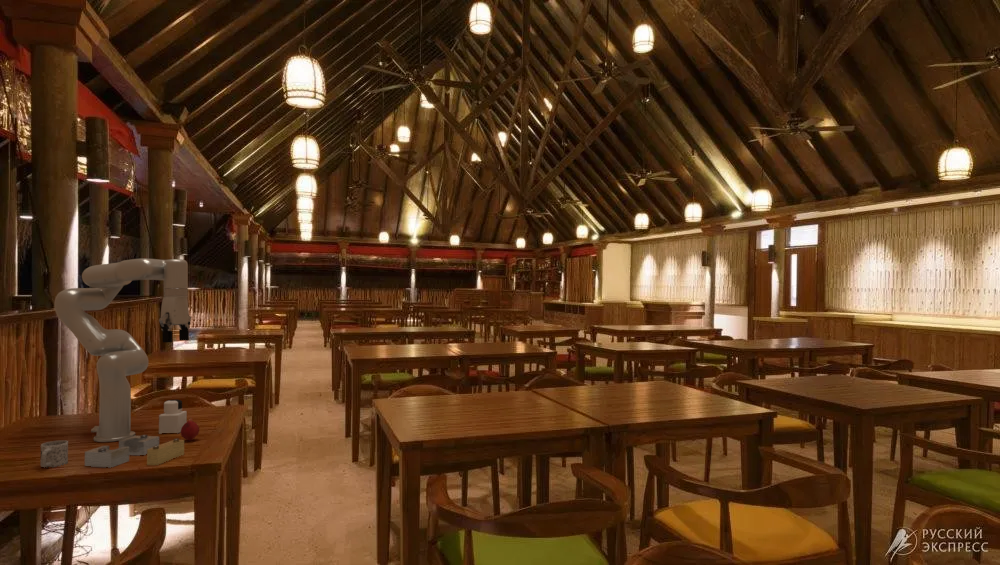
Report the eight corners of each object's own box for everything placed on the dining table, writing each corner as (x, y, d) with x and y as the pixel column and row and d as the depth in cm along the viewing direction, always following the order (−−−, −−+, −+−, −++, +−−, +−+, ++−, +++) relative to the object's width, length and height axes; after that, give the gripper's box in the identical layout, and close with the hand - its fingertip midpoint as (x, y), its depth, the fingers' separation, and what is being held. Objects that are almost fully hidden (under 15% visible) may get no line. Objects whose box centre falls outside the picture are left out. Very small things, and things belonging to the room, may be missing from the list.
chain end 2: (118, 454, 186) (118, 439, 187) (135, 448, 193) (135, 433, 194) (143, 455, 185) (143, 439, 185) (159, 449, 192) (159, 434, 192)
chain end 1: (84, 466, 174) (84, 449, 174) (103, 459, 181) (103, 443, 181) (111, 467, 172) (111, 450, 172) (129, 460, 179) (129, 444, 179)
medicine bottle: (167, 429, 221) (168, 398, 221) (186, 429, 222) (187, 398, 222) (158, 434, 214) (158, 402, 214) (178, 433, 215) (178, 401, 215)
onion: (190, 443, 200) (191, 420, 200) (176, 442, 201) (177, 420, 202) (202, 439, 206) (202, 417, 206) (188, 438, 207) (189, 416, 207)
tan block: (146, 465, 175) (147, 447, 175) (174, 454, 187) (174, 437, 187) (157, 466, 175) (157, 447, 175) (184, 455, 187) (184, 438, 187)
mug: (47, 462, 178) (48, 441, 178) (72, 460, 180) (72, 439, 180) (29, 472, 168) (29, 449, 169) (55, 470, 170) (55, 448, 170)
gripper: (179, 293, 213) (180, 339, 213) (150, 293, 196) (150, 343, 195) (199, 293, 213) (199, 339, 212) (171, 293, 196) (171, 343, 195)
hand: (175, 341), depth 204 cm, fingers open, 9 cm apart
